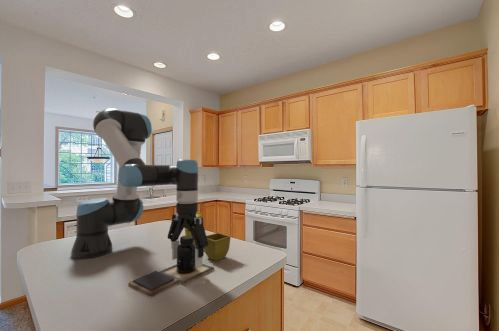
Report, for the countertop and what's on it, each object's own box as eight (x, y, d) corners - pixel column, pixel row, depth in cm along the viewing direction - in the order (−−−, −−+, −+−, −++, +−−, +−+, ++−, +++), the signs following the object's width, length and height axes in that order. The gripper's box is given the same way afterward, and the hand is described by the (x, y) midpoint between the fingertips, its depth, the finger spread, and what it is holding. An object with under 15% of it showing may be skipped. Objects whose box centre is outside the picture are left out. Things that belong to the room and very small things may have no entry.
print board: (157, 274, 82) (157, 271, 82) (188, 261, 93) (188, 258, 93) (184, 285, 74) (184, 282, 74) (214, 269, 85) (214, 267, 86)
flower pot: (201, 258, 97) (201, 236, 97) (217, 252, 103) (217, 232, 103) (214, 264, 91) (214, 241, 91) (231, 257, 97) (231, 236, 97)
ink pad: (133, 281, 74) (133, 280, 74) (155, 272, 81) (155, 270, 81) (151, 291, 69) (151, 289, 69) (173, 280, 75) (173, 278, 75)
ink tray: (128, 285, 74) (128, 282, 74) (156, 273, 82) (156, 270, 82) (150, 297, 67) (150, 293, 67) (178, 282, 75) (178, 279, 75)
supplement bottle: (172, 273, 81) (173, 239, 81) (182, 265, 88) (182, 233, 88) (191, 275, 79) (191, 240, 80) (199, 267, 86) (199, 234, 86)
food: (206, 245, 118) (186, 249, 113) (200, 234, 128) (181, 237, 123) (207, 217, 114) (187, 220, 110) (200, 208, 124) (181, 211, 120)
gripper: (157, 200, 87) (157, 258, 87) (203, 206, 74) (203, 274, 74) (174, 198, 94) (173, 252, 93) (218, 203, 80) (218, 266, 80)
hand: (186, 262), depth 84 cm, fingers open, 11 cm apart
